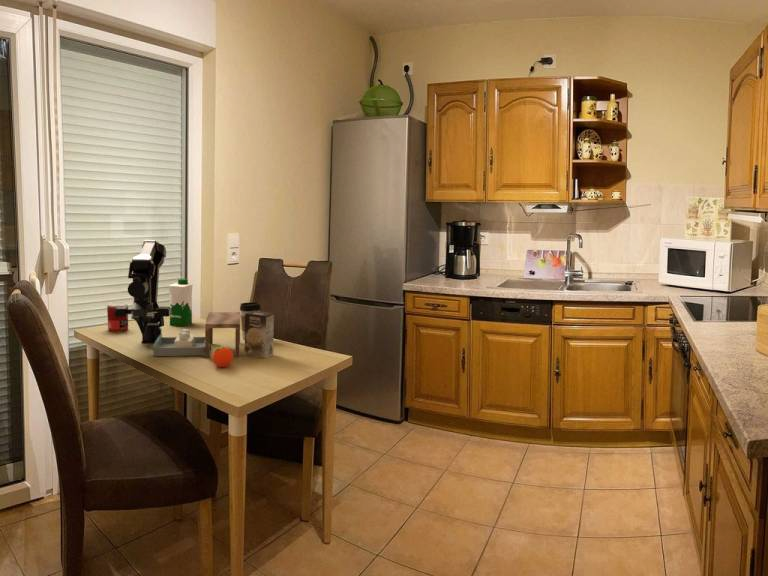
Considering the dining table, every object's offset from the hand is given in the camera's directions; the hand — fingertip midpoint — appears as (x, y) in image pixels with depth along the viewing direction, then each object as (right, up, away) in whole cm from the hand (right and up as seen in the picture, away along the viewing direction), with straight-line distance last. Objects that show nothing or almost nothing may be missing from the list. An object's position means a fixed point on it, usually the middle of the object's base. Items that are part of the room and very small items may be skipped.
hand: (143, 334), depth 212 cm
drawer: (+13, -6, +4) cm, 15 cm away
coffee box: (+42, -8, +3) cm, 43 cm away
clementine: (+32, -10, -14) cm, 37 cm away
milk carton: (-3, +1, +46) cm, 46 cm away
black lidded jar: (+33, -4, +26) cm, 43 cm away
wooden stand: (+27, -7, +8) cm, 29 cm away
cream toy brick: (+14, -5, +4) cm, 15 cm away
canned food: (-24, -1, +31) cm, 39 cm away
